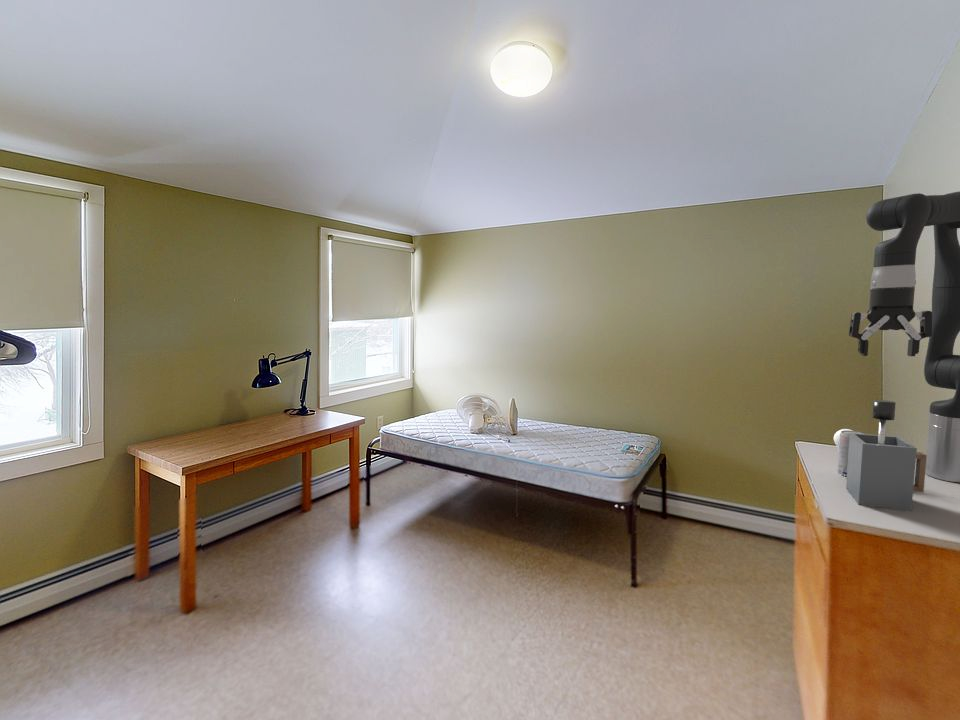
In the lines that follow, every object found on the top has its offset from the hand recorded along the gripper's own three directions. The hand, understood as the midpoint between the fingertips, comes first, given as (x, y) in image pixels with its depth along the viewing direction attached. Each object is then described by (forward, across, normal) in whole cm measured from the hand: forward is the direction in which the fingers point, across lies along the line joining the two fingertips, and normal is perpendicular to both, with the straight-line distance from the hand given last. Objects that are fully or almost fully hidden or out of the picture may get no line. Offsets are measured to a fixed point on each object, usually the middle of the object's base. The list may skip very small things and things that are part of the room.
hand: (887, 355), depth 104 cm
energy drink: (+36, +1, -17) cm, 40 cm away
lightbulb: (+36, 0, -25) cm, 44 cm away
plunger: (+32, 0, 0) cm, 32 cm away
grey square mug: (+36, -2, 0) cm, 36 cm away
